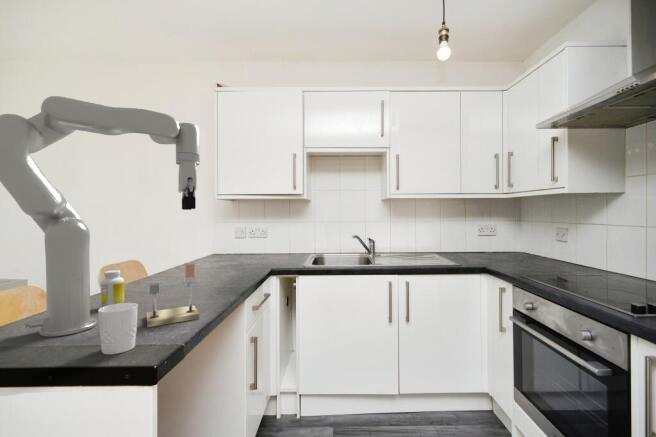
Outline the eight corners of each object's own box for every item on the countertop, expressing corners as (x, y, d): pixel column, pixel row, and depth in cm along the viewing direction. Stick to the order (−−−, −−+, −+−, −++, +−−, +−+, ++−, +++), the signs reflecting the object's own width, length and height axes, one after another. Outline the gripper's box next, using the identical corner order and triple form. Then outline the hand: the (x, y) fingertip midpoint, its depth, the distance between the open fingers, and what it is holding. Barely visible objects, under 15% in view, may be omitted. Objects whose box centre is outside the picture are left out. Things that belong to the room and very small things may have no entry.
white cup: (124, 340, 80) (123, 301, 80) (145, 344, 77) (145, 304, 77) (90, 352, 72) (90, 310, 72) (113, 358, 69) (112, 313, 69)
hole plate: (147, 327, 89) (147, 321, 89) (146, 316, 99) (146, 311, 99) (199, 318, 96) (199, 313, 96) (194, 309, 106) (194, 304, 106)
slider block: (185, 311, 98) (185, 264, 98) (184, 308, 101) (183, 263, 101) (195, 309, 99) (195, 264, 99) (194, 306, 102) (193, 262, 102)
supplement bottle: (126, 304, 114) (126, 269, 114) (121, 309, 107) (120, 272, 107) (105, 306, 112) (104, 270, 112) (98, 311, 105) (97, 273, 105)
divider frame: (150, 316, 92) (149, 285, 92) (149, 314, 95) (149, 283, 95) (197, 309, 99) (197, 280, 99) (196, 307, 102) (195, 279, 102)
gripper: (173, 163, 114) (174, 209, 114) (178, 154, 99) (179, 208, 99) (195, 164, 118) (196, 210, 118) (203, 156, 103) (204, 208, 103)
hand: (188, 209), depth 108 cm, fingers open, 9 cm apart
